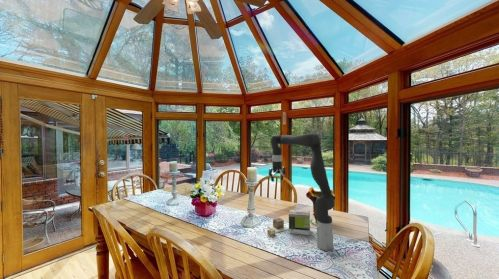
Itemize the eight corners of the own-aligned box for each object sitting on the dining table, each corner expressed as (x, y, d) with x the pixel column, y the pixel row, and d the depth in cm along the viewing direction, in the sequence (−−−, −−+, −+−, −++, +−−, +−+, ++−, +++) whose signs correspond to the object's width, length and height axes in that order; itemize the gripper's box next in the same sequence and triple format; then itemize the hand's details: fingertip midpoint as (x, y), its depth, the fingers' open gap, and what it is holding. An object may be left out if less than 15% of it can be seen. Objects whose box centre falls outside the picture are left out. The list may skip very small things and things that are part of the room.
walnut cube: (283, 227, 176) (283, 220, 176) (277, 229, 173) (277, 221, 173) (279, 225, 181) (279, 217, 181) (273, 226, 178) (272, 219, 178)
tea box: (310, 230, 173) (310, 210, 173) (309, 235, 164) (309, 215, 163) (290, 227, 178) (290, 209, 177) (288, 233, 168) (288, 213, 167)
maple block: (275, 235, 166) (275, 229, 166) (271, 236, 163) (271, 231, 163) (270, 233, 169) (270, 228, 169) (267, 235, 166) (267, 229, 166)
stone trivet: (289, 229, 175) (289, 228, 175) (276, 232, 169) (276, 231, 169) (280, 223, 185) (280, 222, 185) (267, 226, 180) (267, 225, 180)
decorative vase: (339, 228, 175) (337, 192, 174) (308, 227, 180) (306, 192, 179) (334, 217, 195) (332, 185, 195) (306, 217, 200) (305, 186, 199)
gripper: (272, 161, 173) (272, 182, 174) (287, 160, 179) (287, 180, 180) (266, 160, 180) (267, 181, 180) (281, 159, 186) (281, 179, 187)
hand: (277, 180), depth 180 cm, fingers open, 8 cm apart
